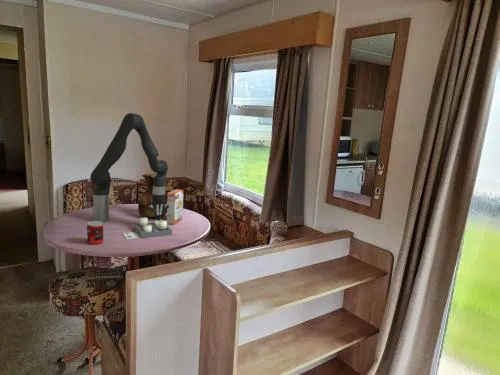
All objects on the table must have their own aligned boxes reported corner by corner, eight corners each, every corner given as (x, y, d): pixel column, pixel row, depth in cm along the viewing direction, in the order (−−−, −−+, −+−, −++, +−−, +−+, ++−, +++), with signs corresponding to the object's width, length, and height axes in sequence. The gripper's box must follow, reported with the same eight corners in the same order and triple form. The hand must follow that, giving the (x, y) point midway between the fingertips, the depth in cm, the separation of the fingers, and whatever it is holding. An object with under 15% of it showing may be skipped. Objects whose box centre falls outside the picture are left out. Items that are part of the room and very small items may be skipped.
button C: (144, 235, 203) (144, 227, 202) (142, 232, 207) (142, 225, 206) (152, 234, 206) (152, 226, 205) (150, 231, 210) (150, 224, 209)
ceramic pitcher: (154, 210, 257) (155, 170, 251) (173, 216, 246) (174, 174, 240) (132, 215, 241) (132, 172, 235) (151, 222, 230) (151, 177, 224)
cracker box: (174, 225, 228) (175, 193, 224) (166, 224, 229) (166, 192, 225) (183, 219, 242) (184, 189, 237) (174, 218, 243) (175, 188, 238)
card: (126, 239, 198) (126, 238, 198) (123, 234, 206) (123, 233, 205) (142, 237, 203) (142, 236, 203) (138, 232, 210) (138, 231, 210)
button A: (140, 227, 210) (140, 219, 209) (138, 224, 214) (138, 217, 213) (148, 226, 213) (148, 219, 212) (146, 224, 217) (146, 217, 216)
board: (141, 238, 201) (141, 233, 200) (134, 229, 215) (134, 224, 214) (172, 234, 210) (172, 229, 210) (163, 226, 224) (163, 221, 224)
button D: (159, 230, 207) (160, 222, 206) (157, 227, 211) (157, 220, 210) (167, 229, 210) (168, 222, 209) (165, 227, 214) (165, 219, 213)
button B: (155, 228, 215) (155, 221, 214) (153, 226, 219) (153, 219, 218) (163, 228, 218) (163, 221, 217) (160, 225, 222) (161, 218, 221)
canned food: (90, 239, 194) (89, 220, 191) (105, 240, 194) (105, 221, 192) (85, 244, 186) (84, 224, 184) (100, 245, 187) (100, 225, 185)
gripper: (167, 191, 221) (167, 217, 224) (146, 192, 214) (146, 219, 217) (171, 193, 214) (170, 221, 218) (149, 195, 208) (149, 223, 211)
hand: (158, 220), depth 218 cm, fingers closed
